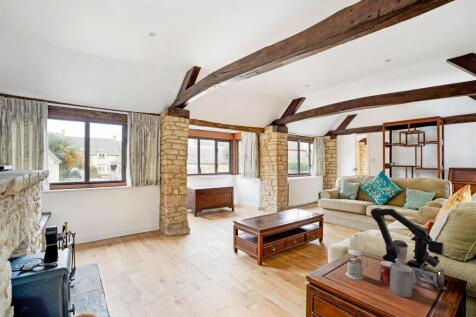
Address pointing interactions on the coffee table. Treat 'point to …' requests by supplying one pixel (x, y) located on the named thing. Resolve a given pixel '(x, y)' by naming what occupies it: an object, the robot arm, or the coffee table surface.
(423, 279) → the gate
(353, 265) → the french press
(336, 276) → the coffee table surface
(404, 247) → the coffee cup
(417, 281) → the latch stile
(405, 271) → the pillar candle
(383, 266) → the canned food
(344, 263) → the coffee table surface
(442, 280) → the hinge post
